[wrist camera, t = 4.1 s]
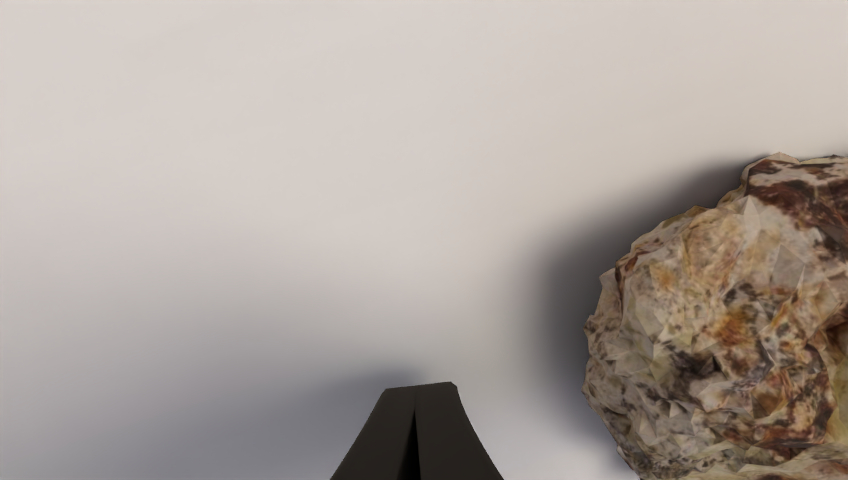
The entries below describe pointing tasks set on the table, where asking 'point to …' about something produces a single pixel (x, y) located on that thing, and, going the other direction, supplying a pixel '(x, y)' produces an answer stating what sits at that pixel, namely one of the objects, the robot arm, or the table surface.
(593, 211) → the table surface
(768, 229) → the mineral rock
